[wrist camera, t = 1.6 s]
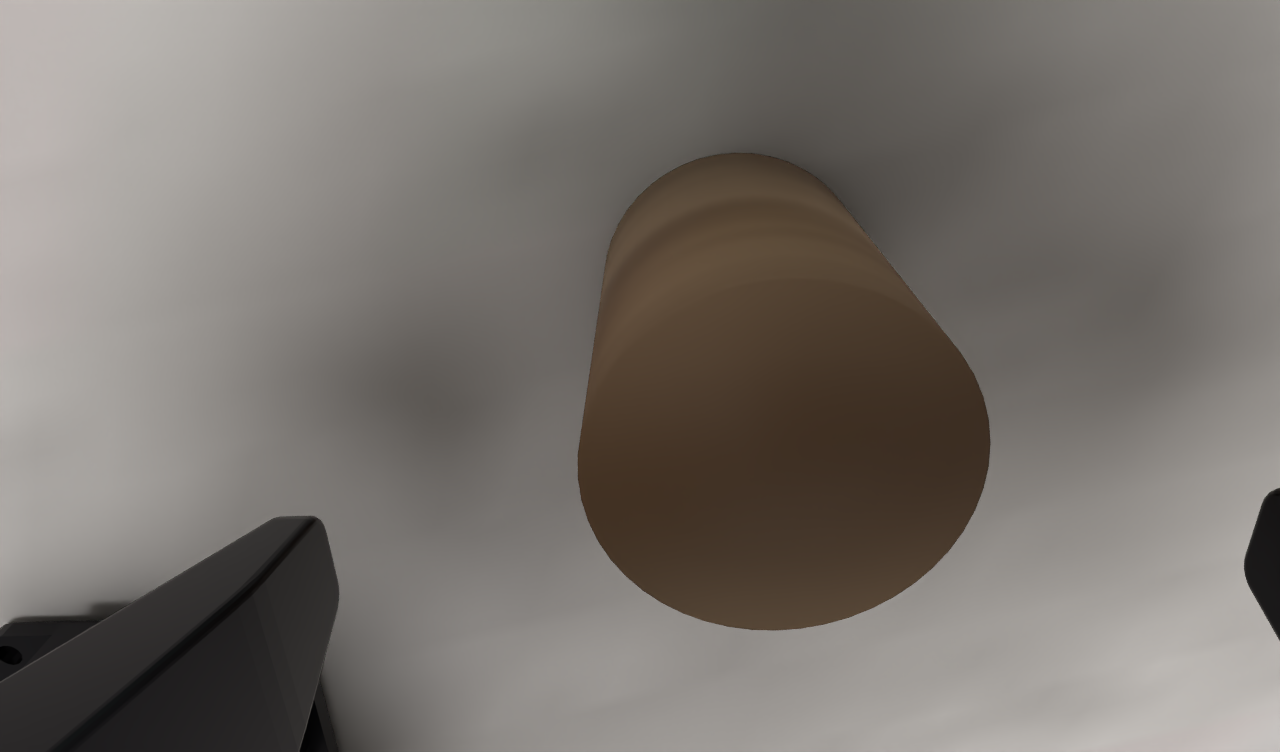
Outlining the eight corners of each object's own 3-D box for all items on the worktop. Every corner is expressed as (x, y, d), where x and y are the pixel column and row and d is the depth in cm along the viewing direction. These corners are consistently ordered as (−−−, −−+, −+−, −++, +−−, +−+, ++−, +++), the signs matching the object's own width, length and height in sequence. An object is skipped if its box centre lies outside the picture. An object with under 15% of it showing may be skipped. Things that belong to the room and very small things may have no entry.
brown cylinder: (854, 394, 16) (963, 626, 10) (611, 402, 16) (591, 634, 10) (872, 148, 14) (1020, 270, 8) (596, 158, 14) (561, 285, 8)
